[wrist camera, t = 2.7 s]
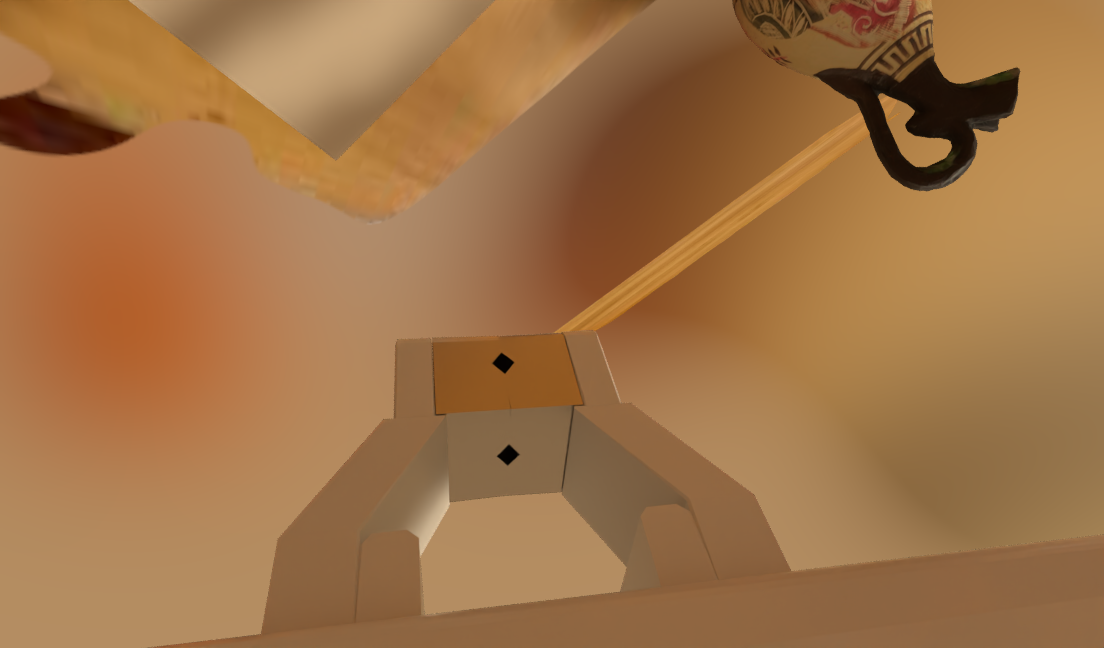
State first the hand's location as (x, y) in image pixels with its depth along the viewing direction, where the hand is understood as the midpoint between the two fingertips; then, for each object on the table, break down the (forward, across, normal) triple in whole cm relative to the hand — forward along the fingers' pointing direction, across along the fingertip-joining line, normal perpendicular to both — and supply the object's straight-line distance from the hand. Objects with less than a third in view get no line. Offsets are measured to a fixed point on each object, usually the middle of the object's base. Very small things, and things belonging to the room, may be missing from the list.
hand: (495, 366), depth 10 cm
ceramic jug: (+61, -31, +1) cm, 68 cm away
